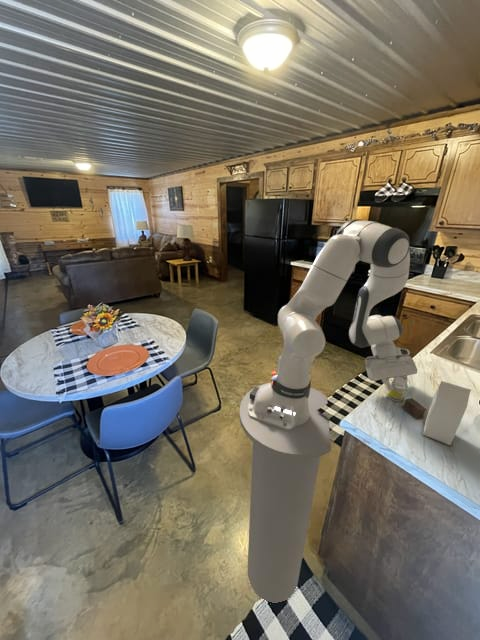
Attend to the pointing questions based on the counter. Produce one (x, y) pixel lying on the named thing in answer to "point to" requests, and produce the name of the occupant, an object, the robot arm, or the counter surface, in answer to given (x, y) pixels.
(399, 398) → the supplement bottle
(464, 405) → the milk carton
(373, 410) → the counter surface
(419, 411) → the brown wooden block
